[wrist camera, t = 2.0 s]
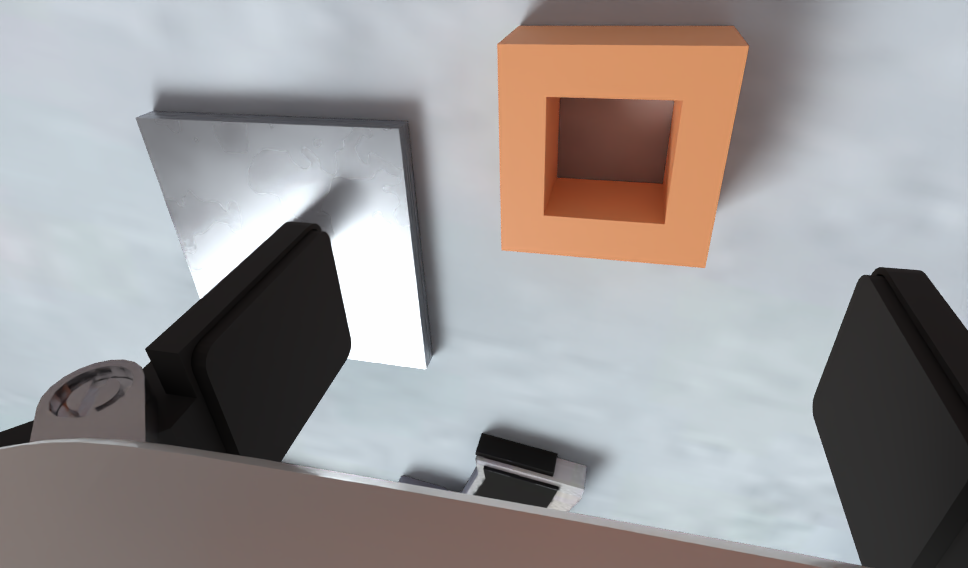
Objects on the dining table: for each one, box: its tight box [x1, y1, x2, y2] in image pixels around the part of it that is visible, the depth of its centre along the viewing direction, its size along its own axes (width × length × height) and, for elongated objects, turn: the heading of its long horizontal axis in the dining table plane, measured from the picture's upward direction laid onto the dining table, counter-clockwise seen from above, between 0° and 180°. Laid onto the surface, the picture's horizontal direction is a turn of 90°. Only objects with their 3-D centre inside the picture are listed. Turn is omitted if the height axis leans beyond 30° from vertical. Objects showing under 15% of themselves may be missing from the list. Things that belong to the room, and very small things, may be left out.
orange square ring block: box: [497, 26, 749, 268], centre depth 20 cm, size 7×7×4 cm
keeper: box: [136, 111, 432, 369], centre depth 25 cm, size 12×12×6 cm
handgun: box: [399, 433, 587, 512], centre depth 35 cm, size 2×22×12 cm
